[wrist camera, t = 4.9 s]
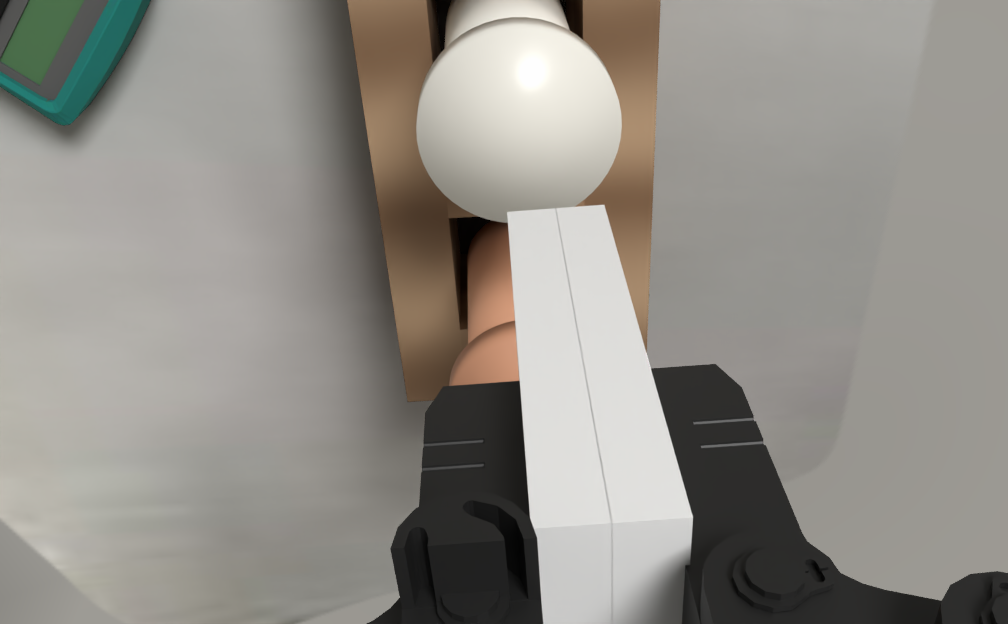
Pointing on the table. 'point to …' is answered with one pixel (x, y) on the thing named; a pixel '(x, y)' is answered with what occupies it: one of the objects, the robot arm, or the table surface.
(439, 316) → the board
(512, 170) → the plug mid
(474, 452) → the robot arm
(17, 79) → the digital multimeter
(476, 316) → the plug terracotta
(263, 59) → the table surface
